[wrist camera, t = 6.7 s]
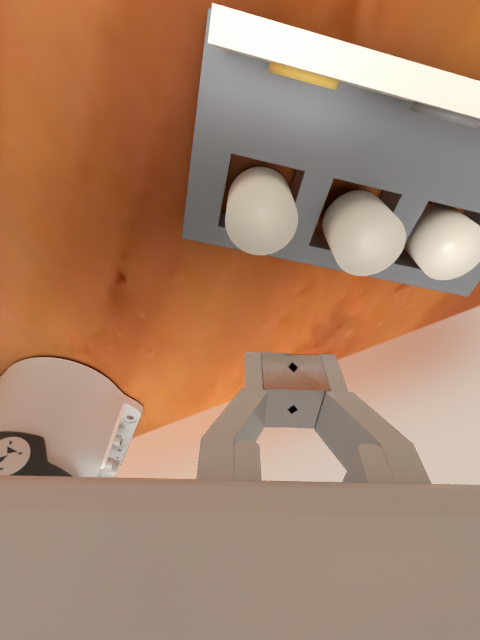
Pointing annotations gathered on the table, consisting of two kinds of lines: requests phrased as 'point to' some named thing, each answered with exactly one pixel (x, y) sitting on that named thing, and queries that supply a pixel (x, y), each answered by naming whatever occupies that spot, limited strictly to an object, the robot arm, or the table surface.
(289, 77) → the console
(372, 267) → the button middle
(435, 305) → the table surface
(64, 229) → the table surface
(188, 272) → the table surface
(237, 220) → the button left
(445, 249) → the button right
